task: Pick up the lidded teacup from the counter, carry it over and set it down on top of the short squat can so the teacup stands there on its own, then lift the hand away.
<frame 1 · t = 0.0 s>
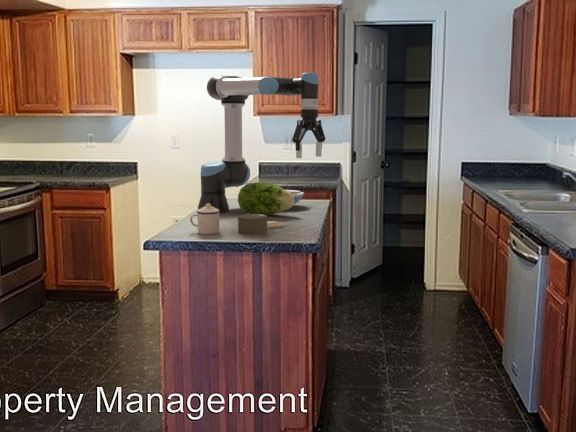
hand: (308, 157, 276), 28 cm above the countertop, tool pointing down, fingers open, 13 cm apart
teacup with lid: (205, 232, 250), on the countertop
lettuce: (266, 215, 291), on the countertop
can: (252, 233, 251), on the countertop
beech coaster: (270, 226, 264), on the countertop
ramen bowl: (281, 207, 316), on the countertop
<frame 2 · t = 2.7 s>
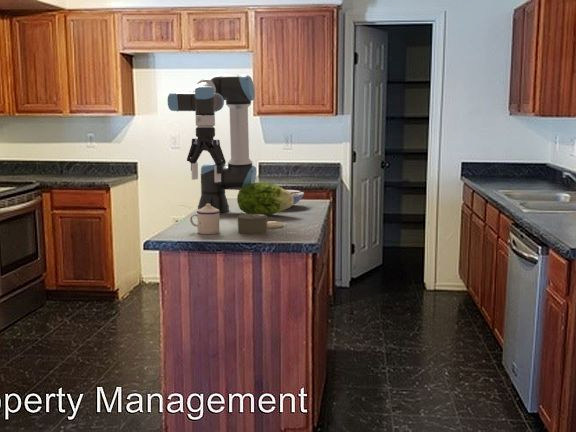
hand: (206, 180, 247), 21 cm above the countertop, tool pointing down, fingers open, 13 cm apart
lettuce: (266, 215, 291), on the countertop, touching arm
everything else where it was.
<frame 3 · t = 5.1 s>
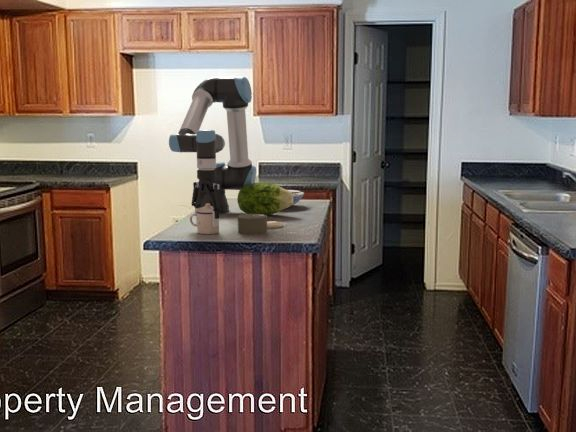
hand: (207, 225, 249), 3 cm above the countertop, tool pointing down, fingers closed on teacup with lid, 9 cm apart
teacup with lid: (204, 232, 250), on the countertop, touching gripper
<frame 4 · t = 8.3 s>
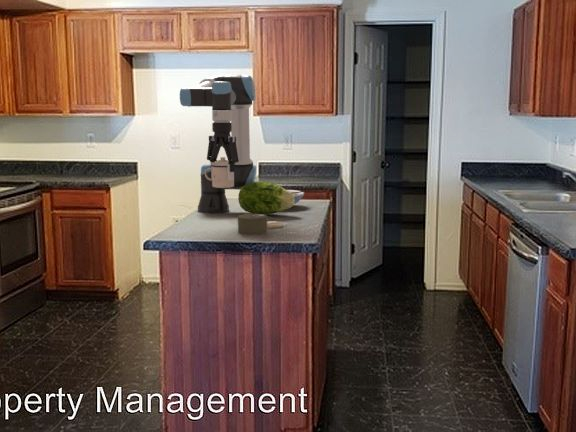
hand: (222, 179, 247), 22 cm above the countertop, tool pointing down, fingers closed on teacup with lid, 9 cm apart
teacup with lid: (219, 187, 248), point 18 cm above the countertop, touching gripper
lettuce: (266, 215, 290), on the countertop
everything else where it was.
when the fingers open (11 cm above the countertop, at t = 10.9 s): teacup with lid drops 1 cm, resting on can.
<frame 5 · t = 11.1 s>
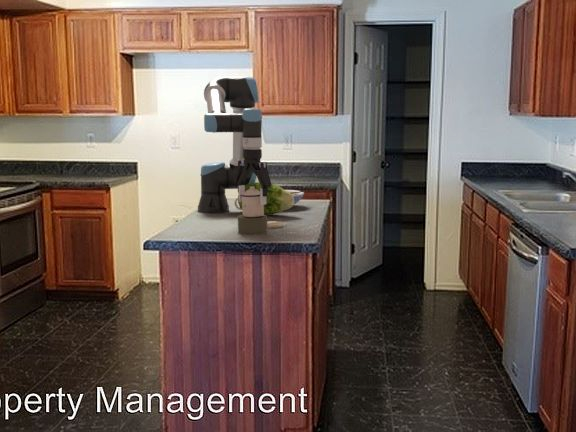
hand: (252, 203, 248), 12 cm above the countertop, tool pointing down, fingers open, 11 cm apart
teacup with lid: (249, 216, 250), point 7 cm above the countertop, touching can
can: (252, 233, 251), on the countertop, touching teacup with lid
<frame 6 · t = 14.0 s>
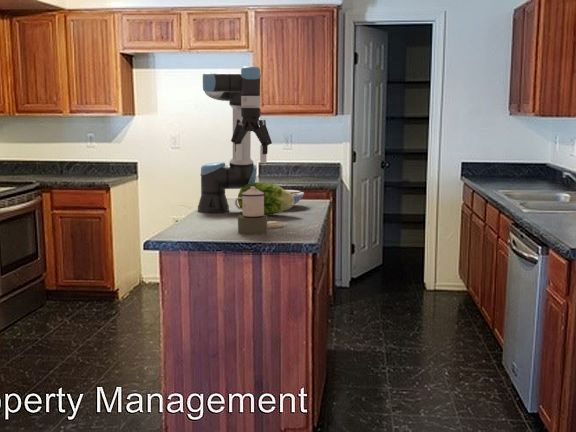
hand: (251, 161, 247), 29 cm above the countertop, tool pointing down, fingers open, 13 cm apart
nothing on the countertop moved.
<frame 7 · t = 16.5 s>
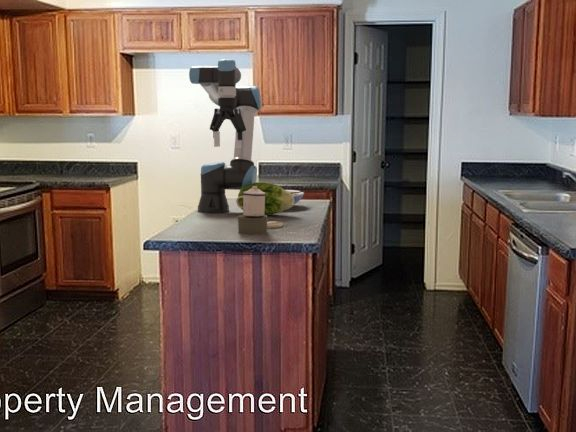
hand: (227, 147, 267), 33 cm above the countertop, tool pointing down, fingers open, 13 cm apart
at the end: teacup with lid 1.1 cm from the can (horizontally); teacup with lid point 6.9 cm above the countertop; teacup with lid tilted 4° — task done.
